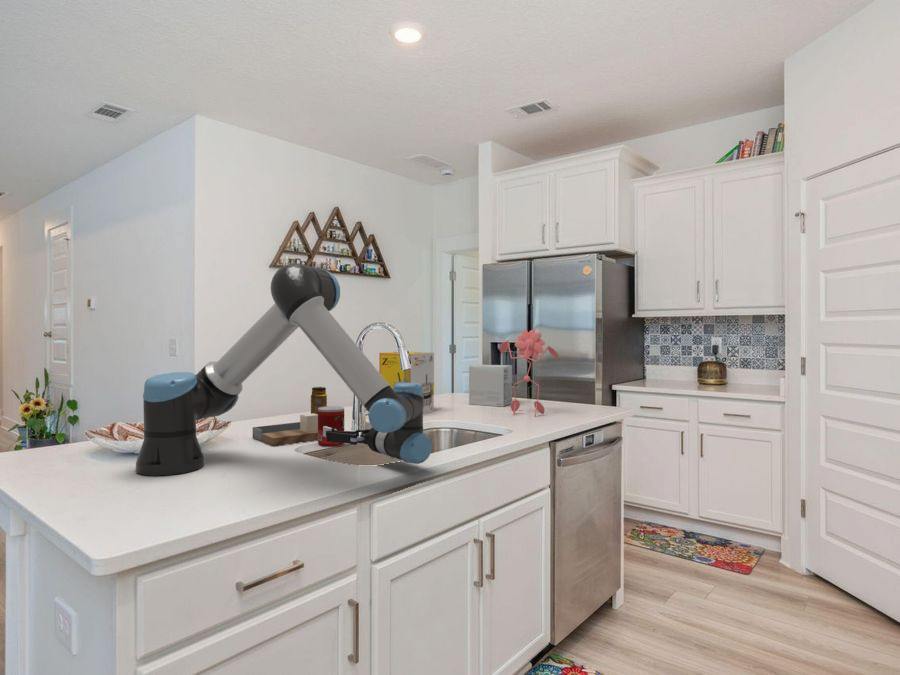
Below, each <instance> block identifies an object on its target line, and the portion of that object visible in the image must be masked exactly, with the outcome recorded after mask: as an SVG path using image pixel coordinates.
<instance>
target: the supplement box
mask: <svg viewBox="0 0 900 675" xmlns="http://www.w3.org/2000/svg"><path fill="white" fill-rule="evenodd" d="M512 402H513V365H512V364H508V365H507V364H474V365H469V366H468V405H475V406H488V407H489V406H490V407H505V406H508V405H511V403H512Z"/></svg>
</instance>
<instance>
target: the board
mask: <svg viewBox="0 0 900 675" xmlns="http://www.w3.org/2000/svg"><path fill="white" fill-rule="evenodd" d="M314 440H318V431H314V432H304V431H301V430H300V429H296V430H287V431H279V432H271V433H263V434H261V441H260V443H263V442H264V444H265V443H266V444H265V445H268V444H269V445H268V446H270V445H271V446H270V447H273V446H274V447H280V446H279V445H281V446H286V445H285V444H289V445H294V444H293V443H296V444H300V443H299V442H303V443H308V442H307V441H310V442H315V441H314Z"/></svg>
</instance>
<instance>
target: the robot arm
mask: <svg viewBox="0 0 900 675" xmlns="http://www.w3.org/2000/svg"><path fill="white" fill-rule="evenodd" d="M270 294H271V297H272V299H273V302H274V303H273V305H272V306H270V307H269V309H267V311H266V312H265V313H264V314H262V316H261V317H259V319H258V320H257V321H256V322H255V323H254V324H253V325H252V326H251V327H250V328H249V329H248V330H247V331H246V332H245V333H244V334H243V335H241V337H240V338H239V339H238V340H237V341H236V342H235V343H234V345H232V346H231V347H230V348H229V349H228V350H227V351H226V353H224V354H223V356H221V357H220V359H219V360H217V361H209V362H207V363H206V364H205V365H204V366H203V367H202V368H201V369H200V370H199V371H198V372H197V373H196V374H195V373H193V372H189V371H178V372H177V371H176V372H169V373H161V374H157V375H154V376H153V375H152V376H151V377H148V378H147V379H146V381H144V384H143V385H144V386H143V393H142V399H143V441H142V444H141V448H140V450H139V453H138V456H137V459H136V462H135V472H136V474H139V475H142V476H143V475H144V476H153V477H154V476H172V475H179V474H185V473H190V472H194V471H197V470H199V469H202V468H203V467H204V464H205V462H204V460H205V457H204V453H203V450H202V448H201V445H200V442H199V439H198V438H197V421H198V420H199V421H200V420H203V419H207V418H214V417H215V418H216V417H218V416H222V415H223V414H226V413H228V412H229V411H230V410H232V409H233V408H234V407H235V405H236V404H237V402H238V400H239V395H240V393H242V391H243V383H244V382H245V381H246V380H247V379H248V378H249V377H250V376H251V375H252V374H253V373H254V372H255V371H256V370H257V369H258V368H259V367H260V366H261V365H262V364H263V363H264V362H265V361H266V360H267V359H268V358H269V357H270V356H271V355H272V354H273V353H274V352H275V351H276V350H277V349H278V348H279V347H280V346H281V345H282V344H283V343H284V342H285V341H286V340H287V339H288V338H289V337H290V336H291V335H292V334H293V333H294V332H295V331H296V330H297V329H298V328H299V329H300V330H301V331H302V332H303V333H304V334H305V336H306V337H307V338H308V339H309V341H310V342H311V343H312V345H314V346H313V347H315V348H316V350H318V352H319V353H320V354H321V355H322V356H323V358H324V359H325V360H326V362H327V363H328V364H329V365H330V367H331V368H332V369H333V370H334V371H335V372H336V374H337V375H338V376H339V377H340V379H341V380H342V381H343V382H344V383H345V385H346V386H347V388H349V390H350V391H351V392H352V393H353V395H354V396H355V397H356V398H357V399H358V400H359V402H360V403H361V404H362V406H363V407H364V408H365V409H366V411H367V412H368V414H367V415H368V421H364V429H356V430H353V431H352V430H344V431H337V429H335V428H330V427H327V426H323V436H325V437H327V441H328V442H338V443H344V444H350V445H352V446H357V445H358V444H364V445H367V447H369V449H370V450H371V451H373V452H375V453H378V454H382V455H385V456H388V457H390V459H396V460H397V459H398V460H400V461H403V462H404V463H408V464H416V465H419V464H423V463H424V462H425V461H427V460H428V459H429V457H430V456H431V454H432V448H433V444H432V441H431V439H430V437H429V436H428V435H426V434H425V433H424V423H423V422H424V414H423V399H424V396H423V387H422V385H421V384H419V383H397V384H395V385H394V387H393V389H392V388H391V386H390V385H389V384H388V383H387V381H386V380H385V379H384V378H383V376H382V375H381V374H380V373H379V370H378V369H377V368H376V367H375V365H374V364H373V362H371V361H370V359H369V358H368V357H367V356H366V355H365V353H364V352H363V351H362V350H361V348H360V347H359V346H358V345H357V343H355V341H354V340H353V338H352V337H350V335H349V334H348V333H347V332H346V330H345V329H344V327H342V326H341V324H340V323H339V322H338V320H336V318H335V317H334V316H333V315H332V314H331V312H330V311H332V310H333V309H334V308H336V306H337V305H338V303H339V301H340V297H341V286H340V284H339V281H338V279H337V277H336V276H335V275H334V274H333V273H332V272H330V271H328V270H326V269H324V268H323V267H316V266H315V267H314V266H310V265H306V264H303V263H298V262H296V263H295V262H293V263H288V264H285V265H283V266H281V267H280V268H279V269H278V270H277V271H276V272H275V273H274V275H273V277H272V279H271V283H270Z"/></svg>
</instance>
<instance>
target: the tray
mask: <svg viewBox="0 0 900 675" xmlns="http://www.w3.org/2000/svg"><path fill="white" fill-rule="evenodd" d="M296 429H300V421H296V422H295V421H294V422H287V423H277V424H269V425H261V426H253V427H252V439H253V438H254V439H253V440H256V441H258V440H259V442H261V434H263V433H271V432H279V431H287V430H296Z"/></svg>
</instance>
